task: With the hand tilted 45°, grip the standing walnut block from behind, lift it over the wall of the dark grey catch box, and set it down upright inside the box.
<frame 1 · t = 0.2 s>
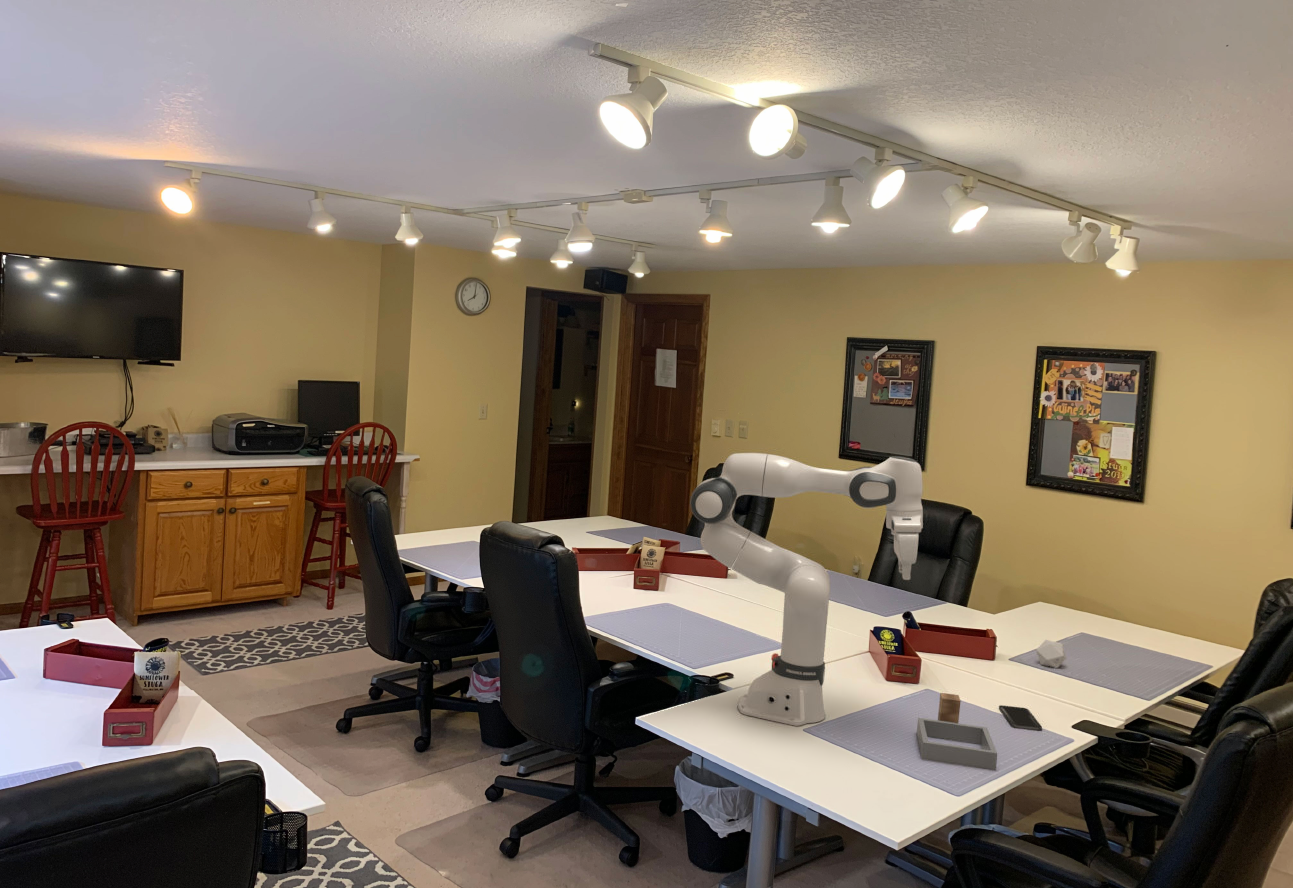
hand: (904, 575, 229), 39 cm above the table, tool pointing down, fingers open, 8 cm apart
phone: (1019, 720, 245), on the table
walnut block: (947, 726, 235), on the table
die: (1050, 666, 296), on the table
catch box: (954, 750, 220), on the table
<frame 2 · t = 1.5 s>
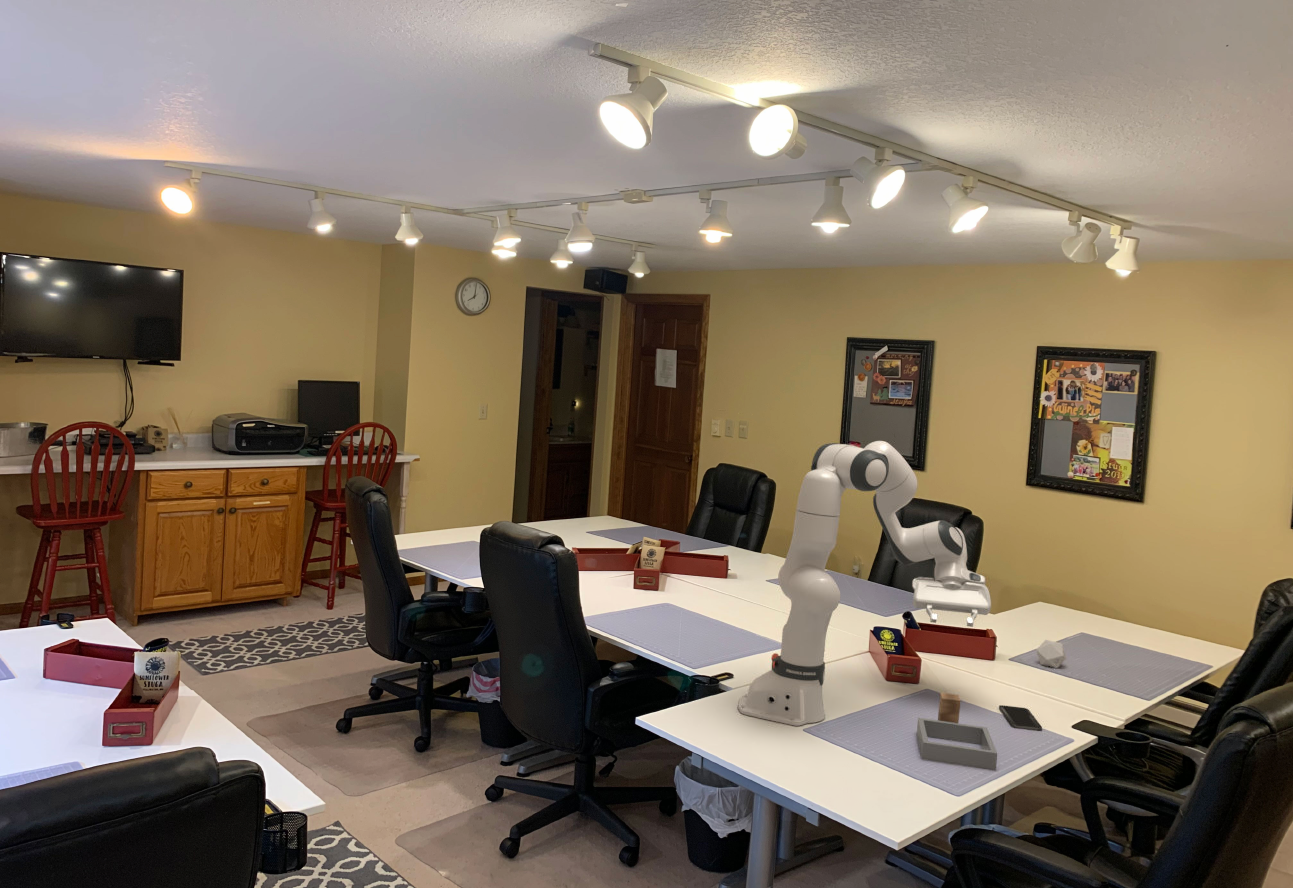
hand: (951, 623, 245), 24 cm above the table, tool tilted 45°, fingers open, 8 cm apart
nothing on the table moved.
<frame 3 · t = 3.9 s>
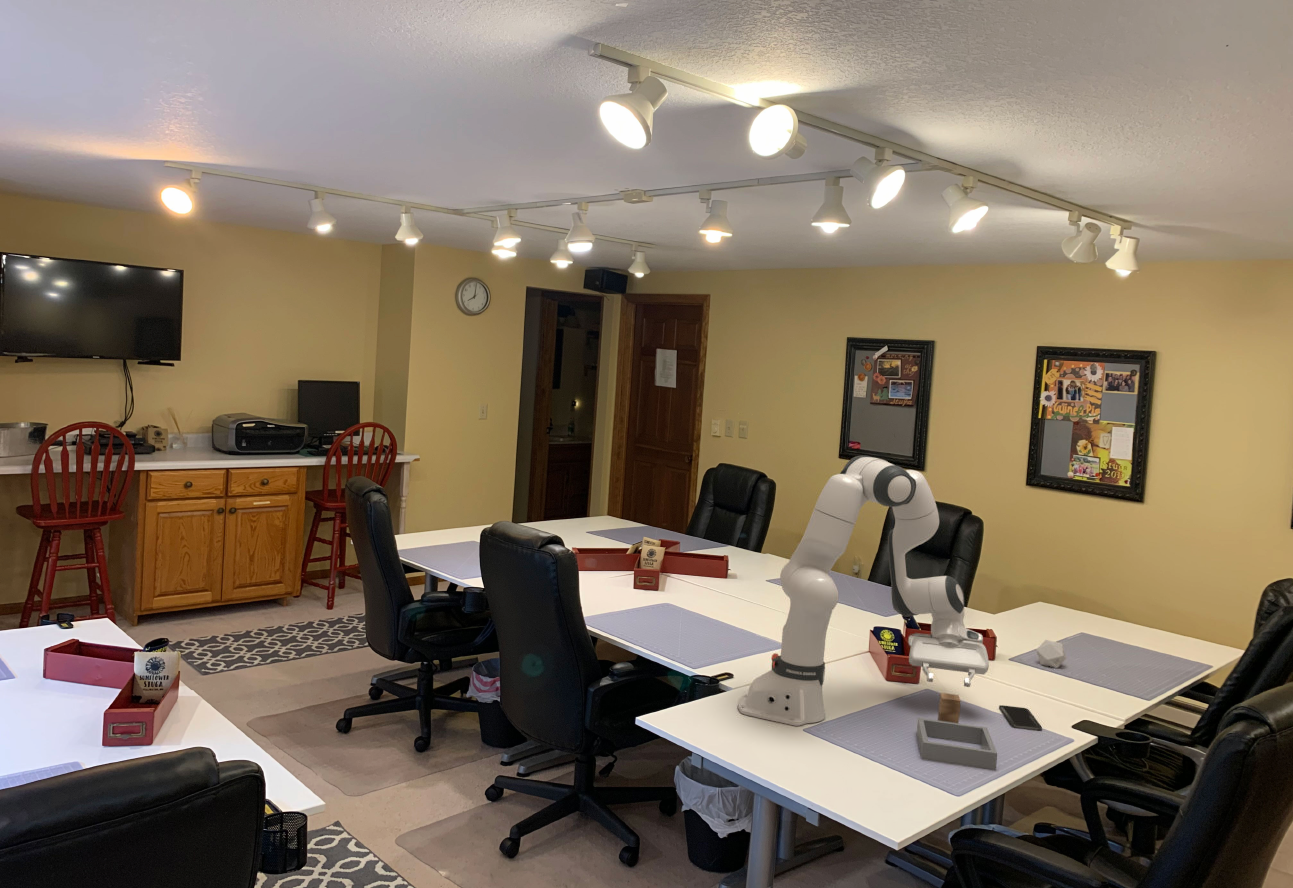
hand: (948, 683, 240), 10 cm above the table, tool tilted 45°, fingers open, 8 cm apart
nothing on the table moved.
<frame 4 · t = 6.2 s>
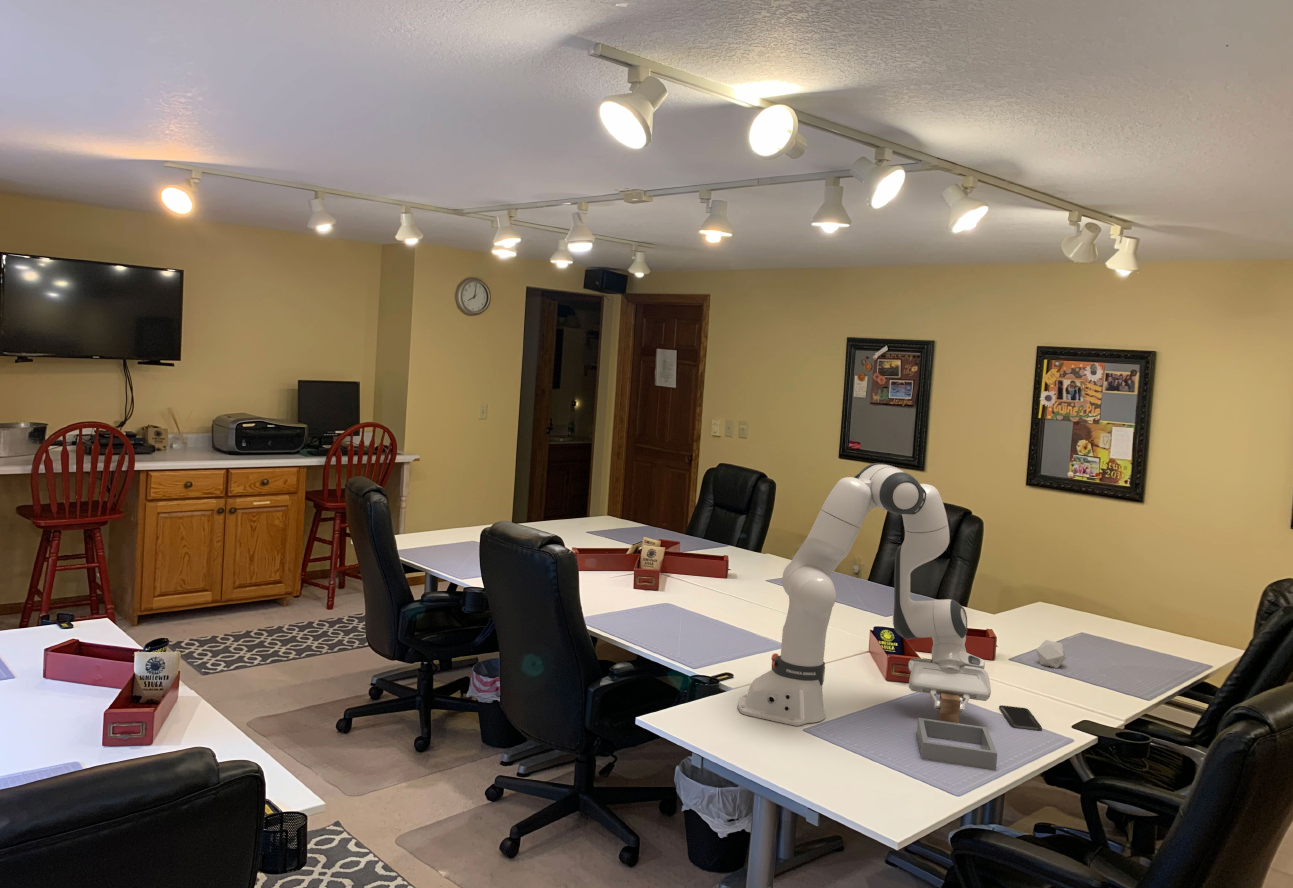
hand: (949, 710, 234), 5 cm above the table, tool tilted 45°, fingers closed on walnut block, 4 cm apart
walnut block: (947, 726, 235), on the table, touching gripper
everything else where it was.
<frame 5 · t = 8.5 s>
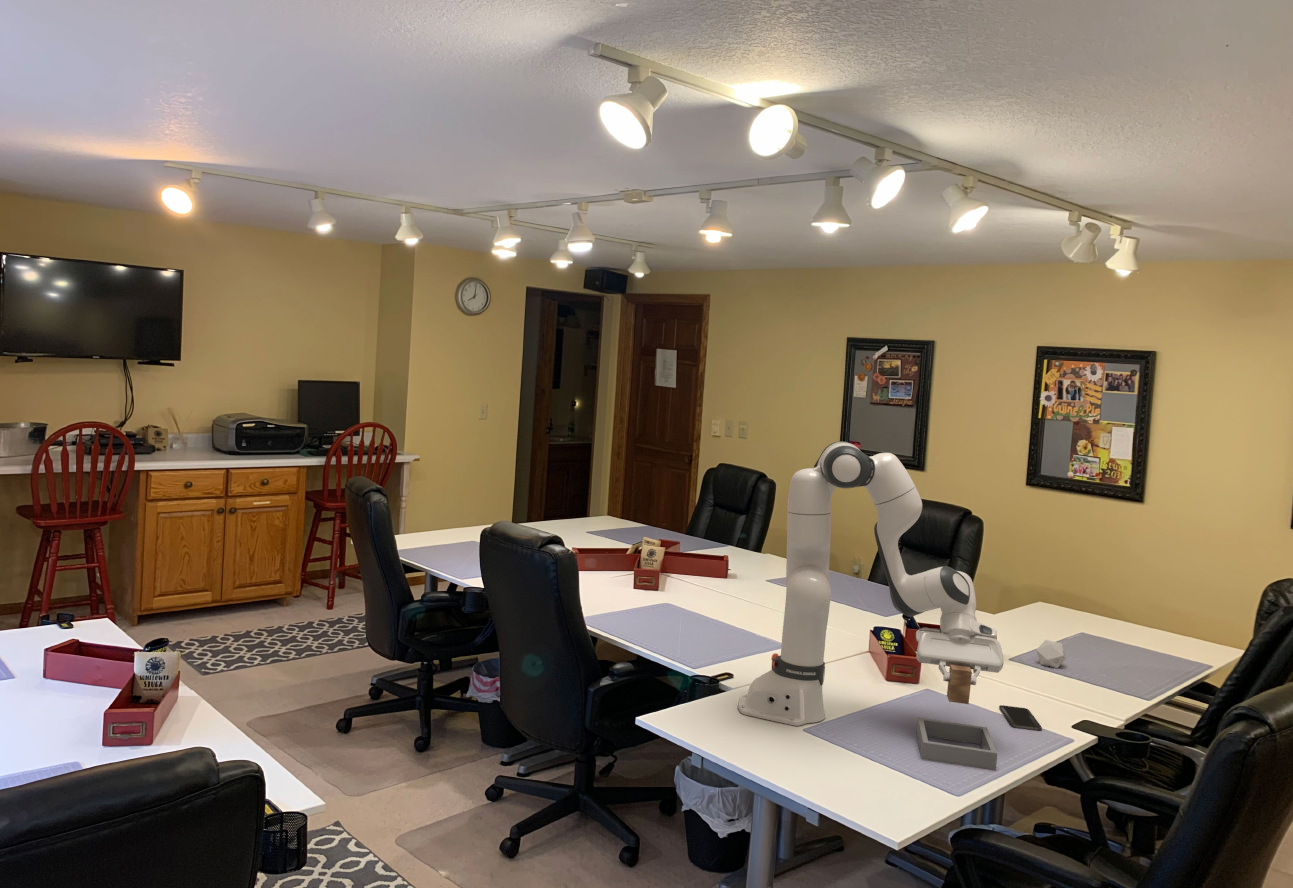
hand: (959, 682, 221), 16 cm above the table, tool tilted 45°, fingers closed on walnut block, 4 cm apart
walnut block: (957, 699, 222), point 12 cm above the table, touching gripper
everything else where it was.
when the fingers open (6 cm above the table, at t = 11.1 s): walnut block drops 2 cm, resting in catch box.
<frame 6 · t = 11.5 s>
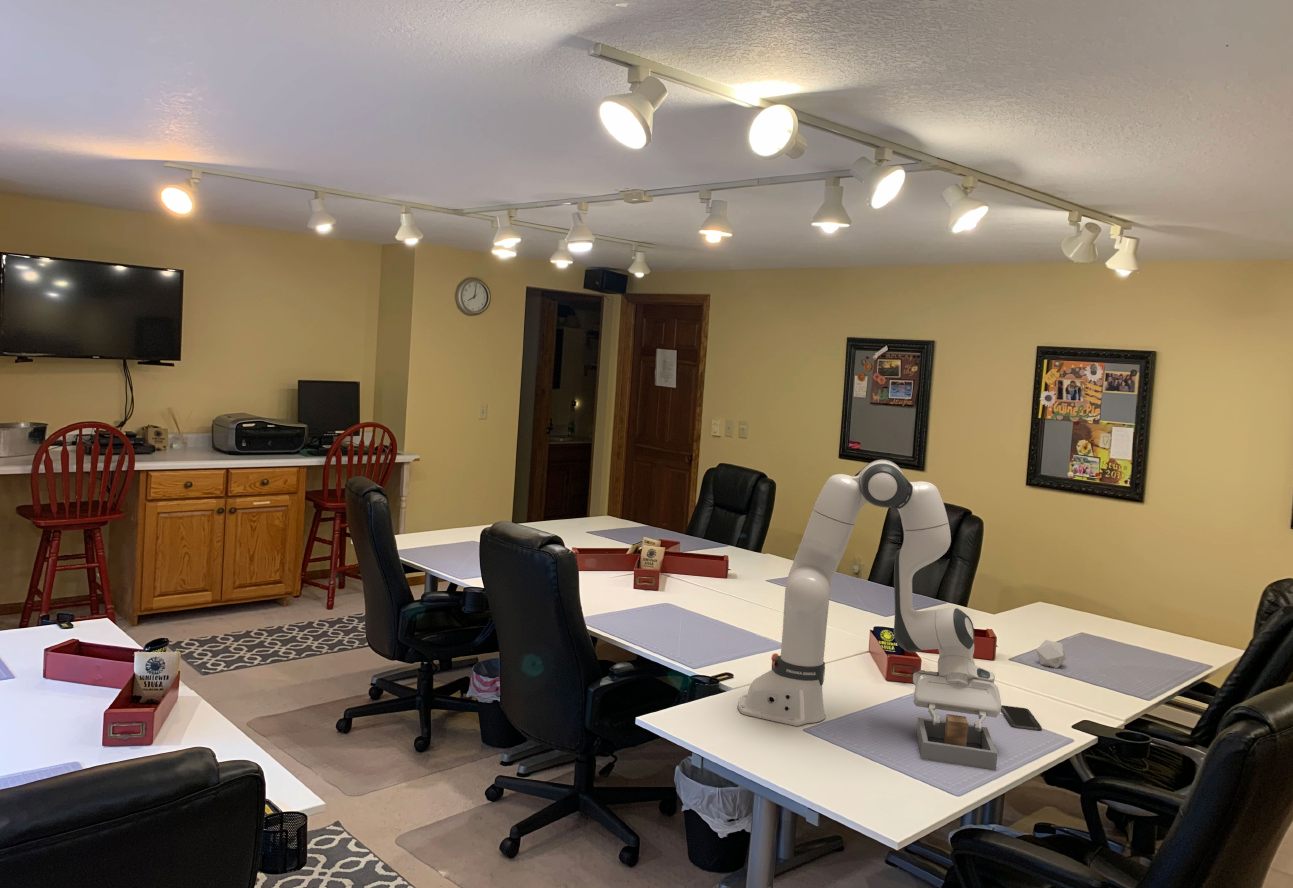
hand: (956, 727, 219), 6 cm above the table, tool tilted 45°, fingers open, 8 cm apart
walnut block: (954, 750, 220), resting in catch box
everything else where it was.
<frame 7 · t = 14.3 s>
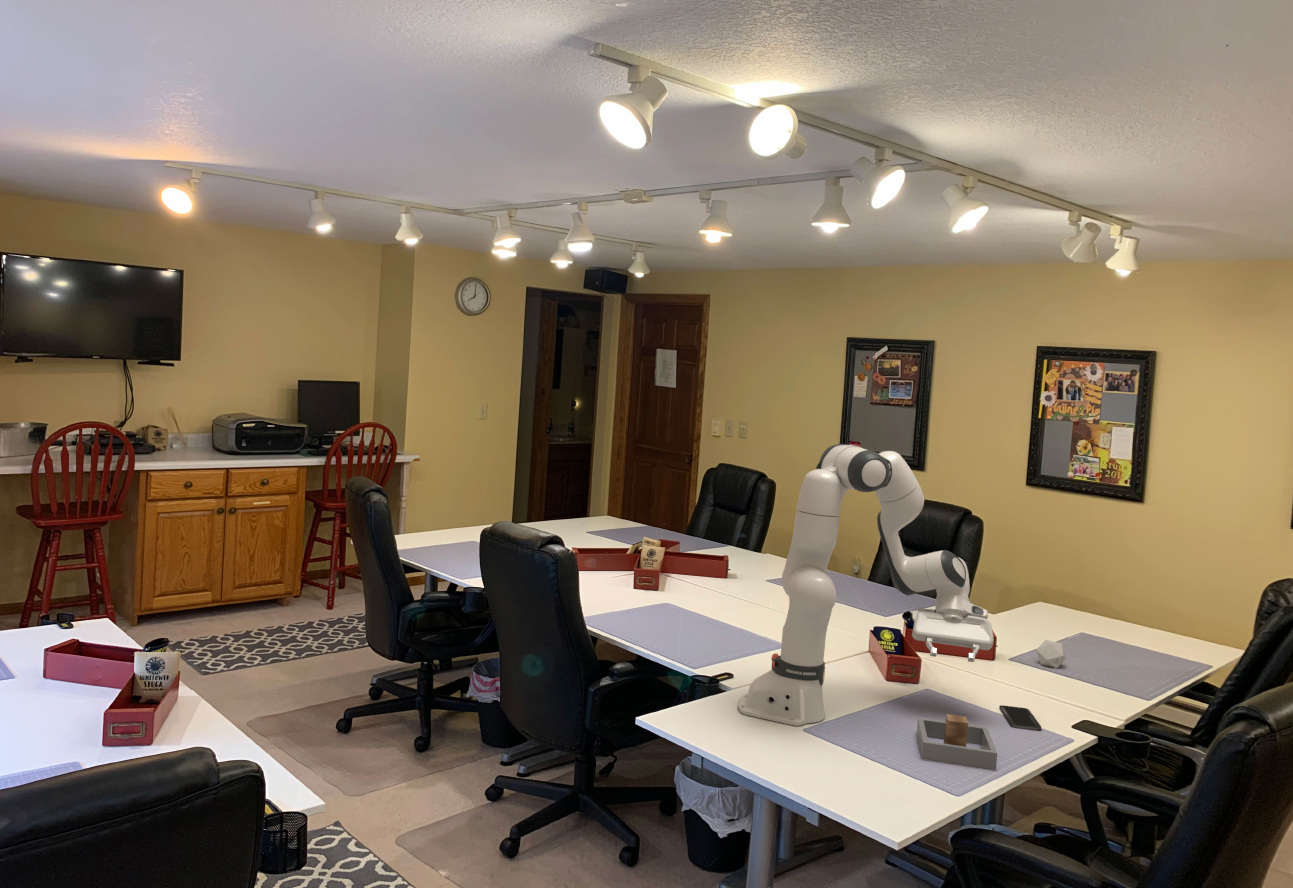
hand: (952, 658, 237), 17 cm above the table, tool tilted 45°, fingers open, 8 cm apart
nothing on the table moved.
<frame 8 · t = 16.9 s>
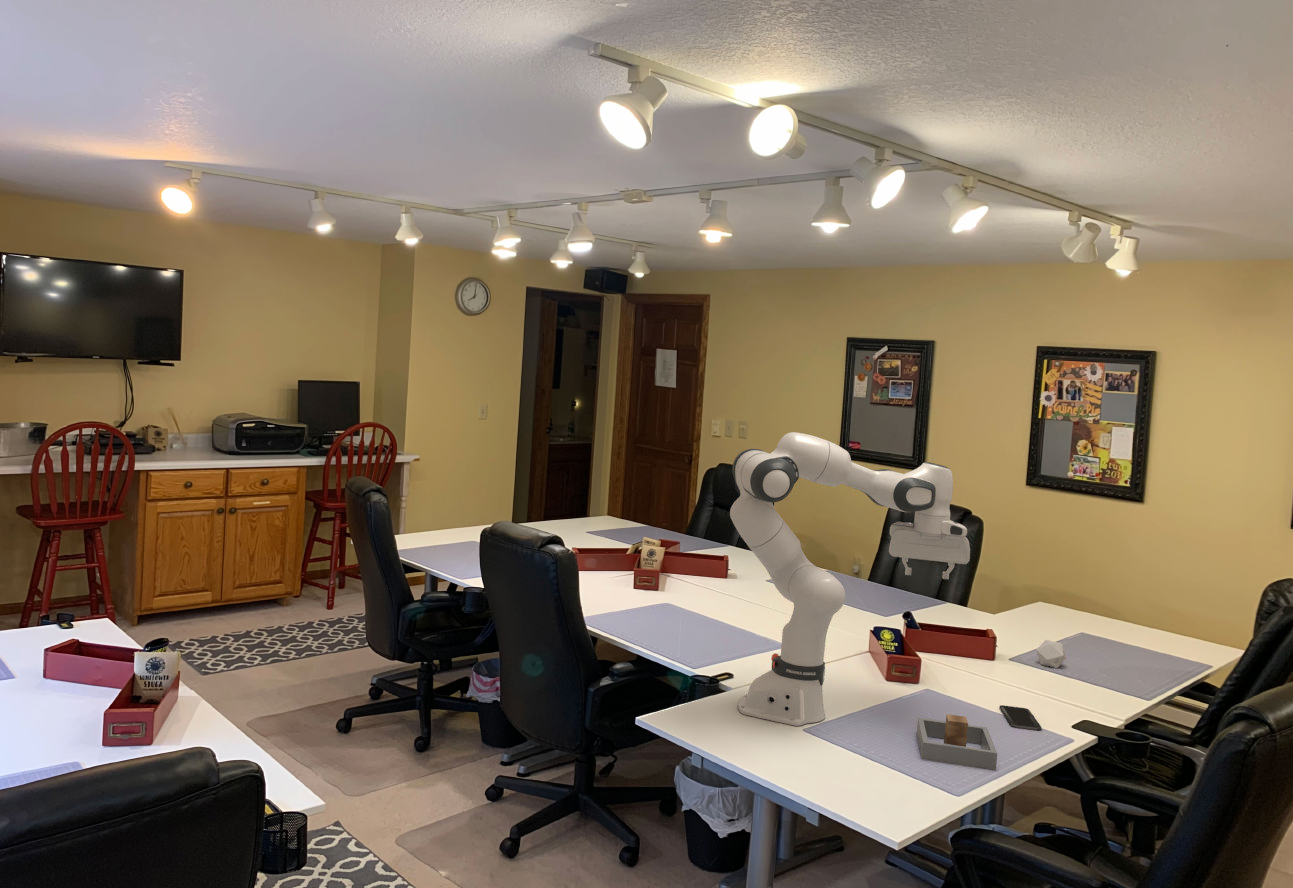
hand: (926, 576, 240), 37 cm above the table, tool pointing down, fingers open, 8 cm apart
nothing on the table moved.
at the end: walnut block inside the target area on the catch box (0.1 cm from its centre), point 0.0 cm above the catch box's base; walnut block tilted 0°; the gripper is holding nothing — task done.
